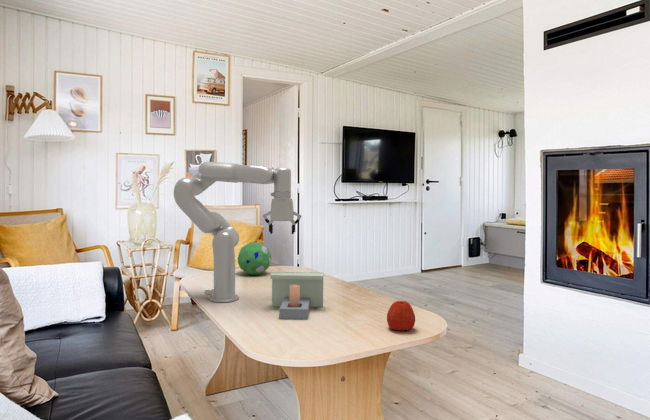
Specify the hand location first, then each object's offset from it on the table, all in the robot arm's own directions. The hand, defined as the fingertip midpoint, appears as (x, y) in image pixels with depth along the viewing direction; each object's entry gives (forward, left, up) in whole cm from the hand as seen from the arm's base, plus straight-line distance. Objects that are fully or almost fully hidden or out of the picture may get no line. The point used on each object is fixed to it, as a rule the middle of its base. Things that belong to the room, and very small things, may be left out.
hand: (282, 233), depth 196 cm
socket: (+8, -19, -30) cm, 37 cm away
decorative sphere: (-23, +57, -31) cm, 69 cm away
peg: (+8, -22, -30) cm, 39 cm away
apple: (+48, -37, -31) cm, 68 cm away
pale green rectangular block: (+8, -12, -30) cm, 34 cm away
